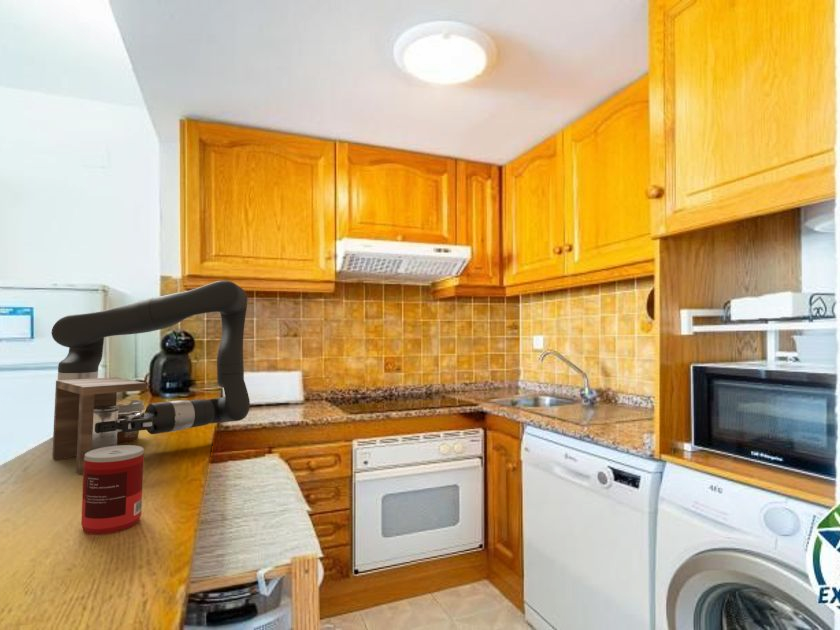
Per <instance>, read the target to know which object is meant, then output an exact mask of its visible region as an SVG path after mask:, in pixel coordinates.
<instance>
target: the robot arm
mask: <svg viewBox="0 0 840 630" xmlns="http://www.w3.org/2000/svg"><path fill="white" fill-rule="evenodd" d="M247 308H248V295H247V292H246V290H244V289H243V288H242V287H240V286H239V285H238V284H236V283H235V282H233V281H231V280H230V281H229V280H218V281H214V282H211V283H207V284H205V285H202V286H200V287H197V288H193V289H190V290H186V291H182V292H175V293H170V294H165V295H161V296H155V297H154V296H153V297H151V298H145V299H142V300H141V299H140V300H137V301H133V302H130V303H127V304H126V303H125V304H121V305H118V306H115V307H112V308H109V309H105V310H99V311H95V312H93V311H92V312H86V313H78V314H77V313H75V314H69V315H66V316H63V317H61V318H59V319H58V320H56V322H55V323H54V325H53V326H52V328H51V337H52V339H53V341H54V342H56V344H59V345H60V346H62V347H66V348H68V353H67V355H66V356H65V358H64V359H62V360H61V361H59V363H58V365H57V367H58V368H57V372H58V373H57V380H75V379H93V378H99V366H100V364H101V362H102V359H103V354H104V343H105V342H104V341H105V338H107V337H111V336H112V337H114V336H126V335H137V334H144V333H151V332H155V331H158V330H159V331H160V330H164V329H167V328H170V327H173V326H176V325H177V324H179V323H180V322H182V321H184V320H186V319H188V318H191V317H194V316H197V315H203V314H208V313H219V314H220V318H221V324H222V325H221V326H222V327H221V329H222V331H221V337H220V342H219V347H218V349H217V356H216V376H217V377H216V380H217V382H216V383H217V385H218V386H219V387H221V388H223V391H224V392H223V393H224V396H220V397H216V398H215V397H213V398H199V399H188V400H182V399H181V400H180V399H179V400H169V401H160V402H150V403H149V404H148V405H147V406H146V407H145V411H144V412H142V411H141V412H140V411H133V412H124V413H118V420H116V422H115V421H106V422H98V423H96V424H95V432H96V433H103V432H110V431H115V430H116V431H117V432H120V431H122V432H131V431H139V432H141V431H147V432H148V433H149V434H150V435H157V434H164V433H165V434H166V433H172V432H177V431H178V432H179V431H182V430H186V429H191V428H199V427H202V426H203V427H204V426H208V425H210V424H211V425H212V424H218V423H229V422H239V421H242V420H244V419H245V418H247V416H248V414H249V411H250V407H251V402H250V397H249V393H248V389H247V388H248V387H247V385H246V382H245V372H244V371H245V368H244V367H245V366H244V333H245V321H246V315H247Z"/></svg>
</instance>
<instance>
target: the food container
mask: <svg viewBox="0 0 840 630" xmlns="http://www.w3.org/2000/svg"><path fill="white" fill-rule="evenodd" d="M116 405H117V406H119V410H118V413H124V412H133V411H140V412H142V411H144V410H145V404H144V403H143V401H142V400H140V399H131V401H130V402H129V403H124V404H116ZM139 433H140V431H131V432H122V431H120V432H117V445H124V444H130V443H132V442H136V441H138V439H139V435H140V434H139Z"/></svg>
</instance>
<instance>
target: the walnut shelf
mask: <svg viewBox="0 0 840 630" xmlns="http://www.w3.org/2000/svg"><path fill="white" fill-rule="evenodd" d="M147 384H148V383H147V382H143V381H139V380H138V381H137V380H133V379H127V378H121V377H117V376H115V377H98V378H93V379H75V380H58V379H57V380H55V392H54V393H55V395H54V413H53V414H54V415H53V434H52V436H53V437H52V452H51V454H52V457H51V459H52V460H54V461H55V460H61V459H62V460H63V459H67V458H72V457H76V464H75V466H76V467H75V468H76V469H75V473H76V474H77V475H83V469H84V458H85V454H86V453H87V452H89V451H92V437H93V415H94V407H96V406H104V405H117V396H118V393H124V392H125V393H126V392H128V393H129V392H141V391H147Z"/></svg>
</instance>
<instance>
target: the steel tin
mask: <svg viewBox="0 0 840 630" xmlns="http://www.w3.org/2000/svg"><path fill="white" fill-rule="evenodd" d="M117 405H118V404H116V405H104V406H96V407H94V415H93V437H92V450H95V449H98V448H103V447H109V446H118V444H117V431H116V430H115V431H110V432H103V433H96V432H95V424H96V423H98V422H106V421H115V422H116V420H118V410H119V406H117Z"/></svg>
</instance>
